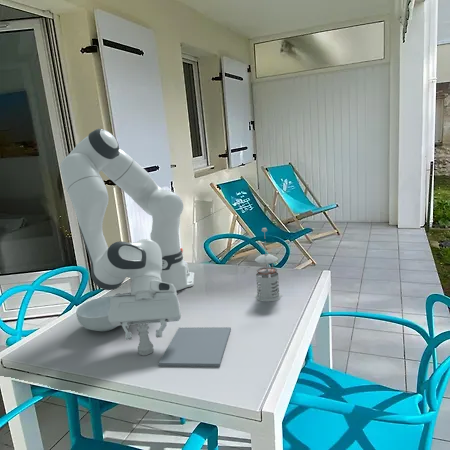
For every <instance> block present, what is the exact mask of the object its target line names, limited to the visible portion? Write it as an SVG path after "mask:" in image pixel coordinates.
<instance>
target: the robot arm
mask: <svg viewBox="0 0 450 450" xmlns="http://www.w3.org/2000/svg"><path fill="white" fill-rule="evenodd" d="M60 172H61V178H62V181H63V184H64V186H65V189H66V192H67V194H68V197H69V199H70V201H71V202H70V203H71V205H72V206H73V209H74V212H75V215H76V219H77V222H78V227H79V231H80V234H81V237H82V240H83V243H84V246H85V248H86V249H85V250H86V253H87V254H88V258H89V262H90V277H91V280H92V281H93V283H94V284H95V286H97V287H99V288H100V289H102V290H105V291H113V290H116V289H118V288H120V287H121V285H122V284H123V283H124V282H125V280H126V278H129V279H130V280H131V284H130V285H131V286H130V292H124V293H116V294H114V295H112V296H113V297H112V298H111V299H110V310H109V315H108V321H109V322H110V324H111V325H113V326H117V327H120V326H121V327H122V329H123V331H124V332H125V337H124V338H125V340H126V341H132V340H133V333H132V332H131V331H129V330H128V329H129V328H130V325H131V326H132V325H139V324H141V325H142V323H143V324H144V325H145V323H146V324H147V325H148V324H157V323H159V324H160V326H159V328H158V329H155V338H156V339H158V338H160V339H161V338H163V331H164V330H165V329H166V327H167V323H169V322H179V321H180V320H181V318H182V311H181V303H180V301H179V298H178V293H177V292H178V291H181V290H183V289H186V288H190V287H193V286H194V283H195V272H193V271H190V270H189V263H188V262H187V261H186V260H185V259H184V256H183V255H184V254H183V252H184V249H183V247H181V242H180V222H181V215H182V213H183V210H184V202H183V200H182V198H181V197H180V196H179V195H178V194H177V193H176V192H174V191H172V190H171V191H170V190H167V189H164V188H162V187H161V186H159V185H158V184H157V182H156V181H155V180H154V179H153V177H152V176H151V175H150V173H149V172H148V171H147V170H146V169H145V168H144V167H143V166H141V164H140V163H138V162H137V161H136V160H135V159H134V158H132V156H130V154H128V153H127V152H125V151H124V150H123V149H121V148H120V145H119V142H118V140H117V137H115V136H114V135H113V134H112V132H110V131H108V130H107V129H103V128H97V129H94V130H93V131H91V132H90V133H89V134H88V135H87V136H86V137H84V138H83V139H82V140H81V141H79V142H78V143H77V144H76V145H75V147H74V148H73V149H72V150H71V151H70V153H69V154H68V155H67V156H65V157H64V158H63V159H62V161H61V163H60ZM101 172H102V173H103V174H104V175H105V176H106V177H107V178H109V180H110V181H112V182H113V183H114V184H115V185H116V186H117V187H119V188H120V189H121V190H122V191H123V192H124V193H126V194H127V195H128V196H129V198H130V199H131V200H132V201H134V202H135V203H136V205H137V206H139V207H140V208H141V209H142V210H143V211H144V212H145V213H146V214H147V215H149V216H151V219H152V225H151V232H150V235H149V236H150V238H149V239H148V238H146V239H143V238H142V239H139V240H137V241H135V242H127V241H121V240H120V241H116V242H113V243H112V244H111V245H110V246H109V247H108V243H107V241H106V237H105V235H104V231H103V229H104V228H103V224H104V218H105V214H106V211H107V208H108V205H109V201H110V200H109V199H110V198H109V197H110V196H109V192H108V188H107V185H106V184H105V182H104V180H103V178H102V176H101V174H100V173H101Z"/></svg>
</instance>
